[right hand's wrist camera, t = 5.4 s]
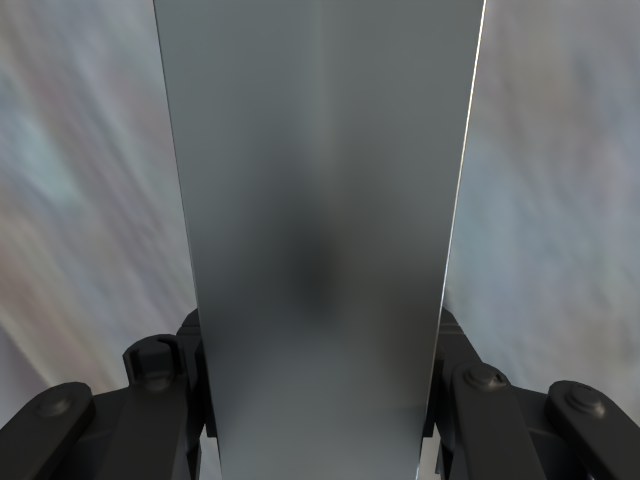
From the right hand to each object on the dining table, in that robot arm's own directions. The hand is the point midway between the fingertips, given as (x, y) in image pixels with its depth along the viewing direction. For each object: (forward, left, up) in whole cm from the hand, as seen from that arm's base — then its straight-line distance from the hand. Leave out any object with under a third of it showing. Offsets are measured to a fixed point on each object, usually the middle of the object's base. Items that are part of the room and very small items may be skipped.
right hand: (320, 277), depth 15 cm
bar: (+6, +6, -1) cm, 9 cm away
